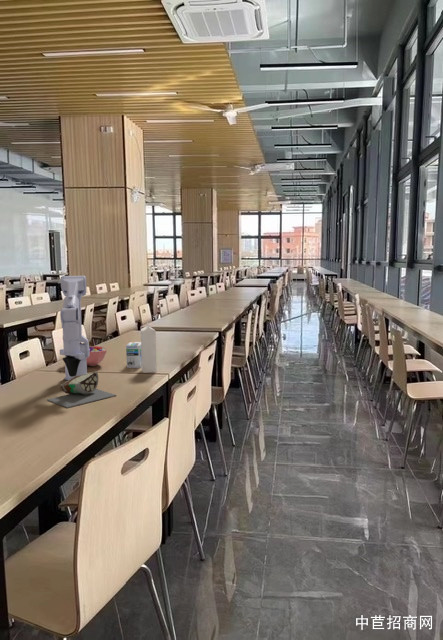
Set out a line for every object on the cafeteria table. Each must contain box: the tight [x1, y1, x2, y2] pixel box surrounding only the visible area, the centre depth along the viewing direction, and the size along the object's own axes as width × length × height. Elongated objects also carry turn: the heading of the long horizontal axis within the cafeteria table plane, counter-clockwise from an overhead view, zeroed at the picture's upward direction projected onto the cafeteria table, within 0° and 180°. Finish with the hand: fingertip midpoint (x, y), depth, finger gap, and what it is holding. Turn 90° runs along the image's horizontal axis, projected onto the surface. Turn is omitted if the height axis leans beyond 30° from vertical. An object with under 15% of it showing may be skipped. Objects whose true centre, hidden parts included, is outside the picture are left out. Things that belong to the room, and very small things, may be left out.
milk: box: [140, 322, 158, 374], centre depth 221 cm, size 6×6×22 cm
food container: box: [59, 371, 99, 395], centre depth 185 cm, size 12×6×10 cm
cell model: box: [79, 342, 108, 367], centre depth 234 cm, size 17×20×11 cm
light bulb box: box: [125, 341, 142, 369], centre depth 234 cm, size 11×7×11 cm, turn 179°
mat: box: [46, 388, 117, 409], centre depth 180 cm, size 14×20×1 cm
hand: (72, 375), depth 183 cm, fingers closed
